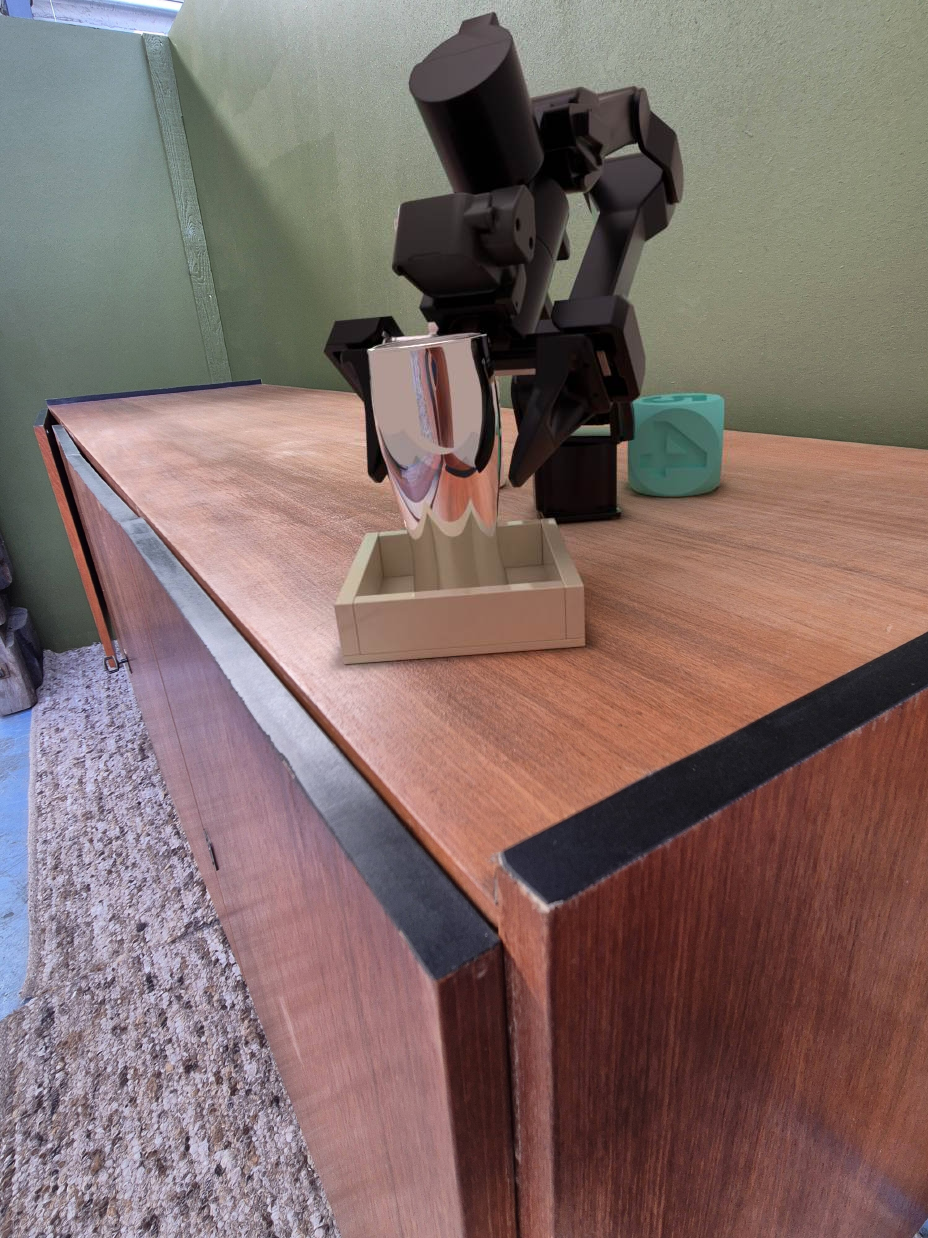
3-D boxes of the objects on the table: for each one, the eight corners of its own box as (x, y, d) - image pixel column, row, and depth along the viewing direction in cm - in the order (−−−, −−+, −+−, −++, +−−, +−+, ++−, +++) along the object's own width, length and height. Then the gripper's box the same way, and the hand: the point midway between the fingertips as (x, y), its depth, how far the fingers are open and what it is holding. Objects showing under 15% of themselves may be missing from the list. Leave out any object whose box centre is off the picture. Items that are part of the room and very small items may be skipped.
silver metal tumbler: (533, 577, 46) (510, 326, 39) (493, 625, 40) (459, 340, 34) (436, 573, 48) (400, 338, 42) (386, 617, 43) (336, 353, 37)
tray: (556, 566, 50) (554, 517, 48) (585, 646, 38) (584, 585, 37) (371, 580, 50) (365, 532, 49) (343, 664, 38) (333, 604, 37)
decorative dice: (719, 497, 63) (725, 402, 60) (626, 497, 65) (627, 407, 62) (718, 476, 70) (723, 391, 66) (634, 477, 72) (635, 395, 69)
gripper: (316, 170, 41) (220, 393, 37) (635, 103, 33) (561, 380, 29) (402, 311, 51) (334, 502, 46) (667, 286, 43) (615, 516, 38)
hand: (440, 481), depth 40 cm, fingers open, 8 cm apart
